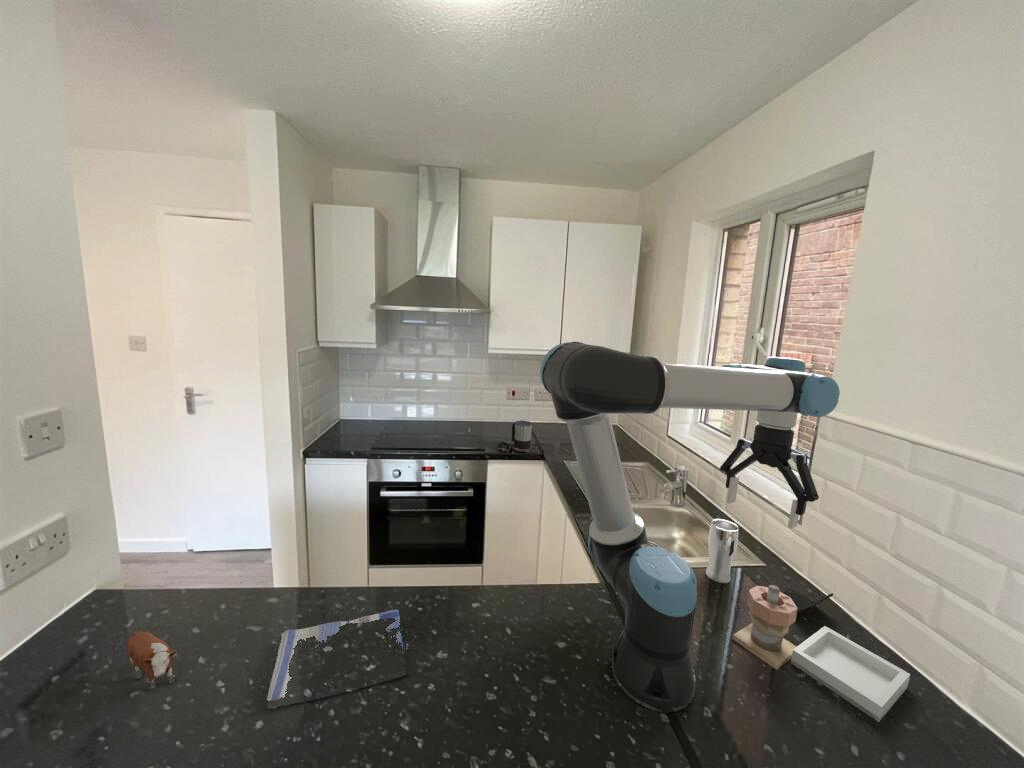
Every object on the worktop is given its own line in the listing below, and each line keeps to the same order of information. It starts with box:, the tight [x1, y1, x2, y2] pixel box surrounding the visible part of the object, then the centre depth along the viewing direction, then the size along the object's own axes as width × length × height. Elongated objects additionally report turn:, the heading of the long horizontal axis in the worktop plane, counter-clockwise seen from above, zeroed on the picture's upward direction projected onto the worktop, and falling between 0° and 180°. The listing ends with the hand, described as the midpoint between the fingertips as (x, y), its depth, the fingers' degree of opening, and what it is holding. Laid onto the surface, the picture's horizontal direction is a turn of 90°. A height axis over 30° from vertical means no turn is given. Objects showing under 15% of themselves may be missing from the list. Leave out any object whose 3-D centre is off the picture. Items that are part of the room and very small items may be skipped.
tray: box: [790, 625, 911, 723], centre depth 80 cm, size 14×14×3 cm
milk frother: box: [497, 420, 533, 449], centre depth 209 cm, size 14×16×15 cm
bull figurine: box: [126, 631, 179, 683], centre depth 71 cm, size 4×13×8 cm, turn 58°
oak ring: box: [749, 611, 790, 637], centre depth 85 cm, size 6×6×3 cm
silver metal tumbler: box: [705, 518, 740, 584], centre depth 109 cm, size 7×7×15 cm
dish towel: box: [266, 609, 403, 701], centre depth 78 cm, size 17×24×3 cm
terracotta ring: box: [746, 585, 798, 627], centre depth 85 cm, size 8×8×3 cm
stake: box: [732, 584, 798, 670], centre depth 85 cm, size 9×9×14 cm
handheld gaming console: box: [782, 588, 834, 617], centre depth 98 cm, size 12×7×10 cm
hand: (759, 513), depth 95 cm, fingers open, 13 cm apart
